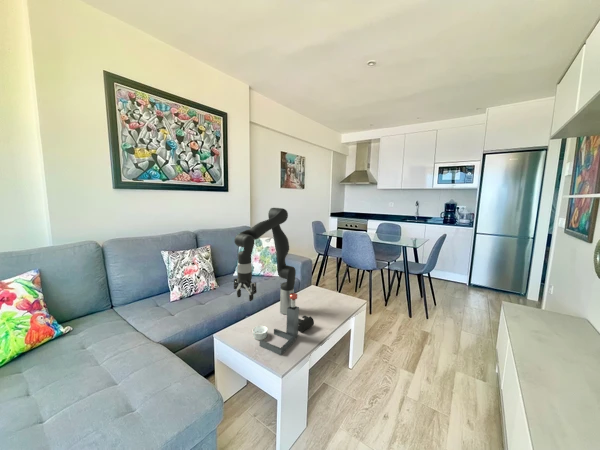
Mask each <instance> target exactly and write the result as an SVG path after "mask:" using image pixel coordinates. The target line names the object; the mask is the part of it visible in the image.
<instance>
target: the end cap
mask: <svg viewBox="0 0 600 450" xmlns="http://www.w3.org/2000/svg"><path fill="white" fill-rule="evenodd" d="M301 318H302V319H301ZM301 318H299V322H298V333H299V332H300V333H302V332H304V331H306V330H308V329H309V328H311V327H312V326H314V324H315V320H314V318H313V317H312V316H309V317H308V316H307V315H303V316H301Z"/></svg>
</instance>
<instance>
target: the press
mask: <svg viewBox="0 0 600 450" xmlns="http://www.w3.org/2000/svg"><path fill="white" fill-rule="evenodd" d="M299 316H300V307H299V306H296V305H295V309H294V310H293V309H291V306H290V307H288V308H287V315H286V330H285V331H286V332H285V331H282V330H280V329H278V328H274V329H273V335H275V336H277V337H280V338H282V339H285V340H287V341H286V342H284V344H283V345H282V346H281V347H280V346H279V347H278V346H277V345H274V344H272V343H270V342H268V341H265V340H264V339H263V340H259V347H260V348H263V349H266V350H267V351H270V352H272V353H274V354H277V355H279V356H282V355H283V354H284V353H285V352H286V351H287V350H288V349H289V348H290V347H291V346H292V345H293V344H294V343H295V342H296V339H297V338H298V336H299V331H298V322H299V319H300V318H299Z"/></svg>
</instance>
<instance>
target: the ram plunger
mask: <svg viewBox="0 0 600 450" xmlns="http://www.w3.org/2000/svg"><path fill="white" fill-rule="evenodd" d="M290 299H291V309H293V310H294V309H295V306H296V300H297V299H298V293H296V292H294V293H291V294H290Z"/></svg>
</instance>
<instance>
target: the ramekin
mask: <svg viewBox="0 0 600 450" xmlns="http://www.w3.org/2000/svg"><path fill="white" fill-rule="evenodd" d="M268 330H269V328H268V327H267V326H265V325H256V326H254V327H253V328H252V329H251V331H252V337H253V339H254V340H257V341H260V340H263V341H264V340H265V339H266V338H267V336H268Z"/></svg>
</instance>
